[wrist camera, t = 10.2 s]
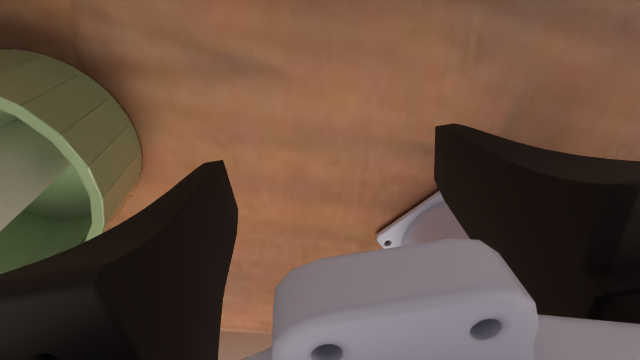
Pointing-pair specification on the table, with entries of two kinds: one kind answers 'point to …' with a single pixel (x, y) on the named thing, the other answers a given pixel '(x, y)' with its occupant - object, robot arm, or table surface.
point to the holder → (76, 145)
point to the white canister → (25, 168)
